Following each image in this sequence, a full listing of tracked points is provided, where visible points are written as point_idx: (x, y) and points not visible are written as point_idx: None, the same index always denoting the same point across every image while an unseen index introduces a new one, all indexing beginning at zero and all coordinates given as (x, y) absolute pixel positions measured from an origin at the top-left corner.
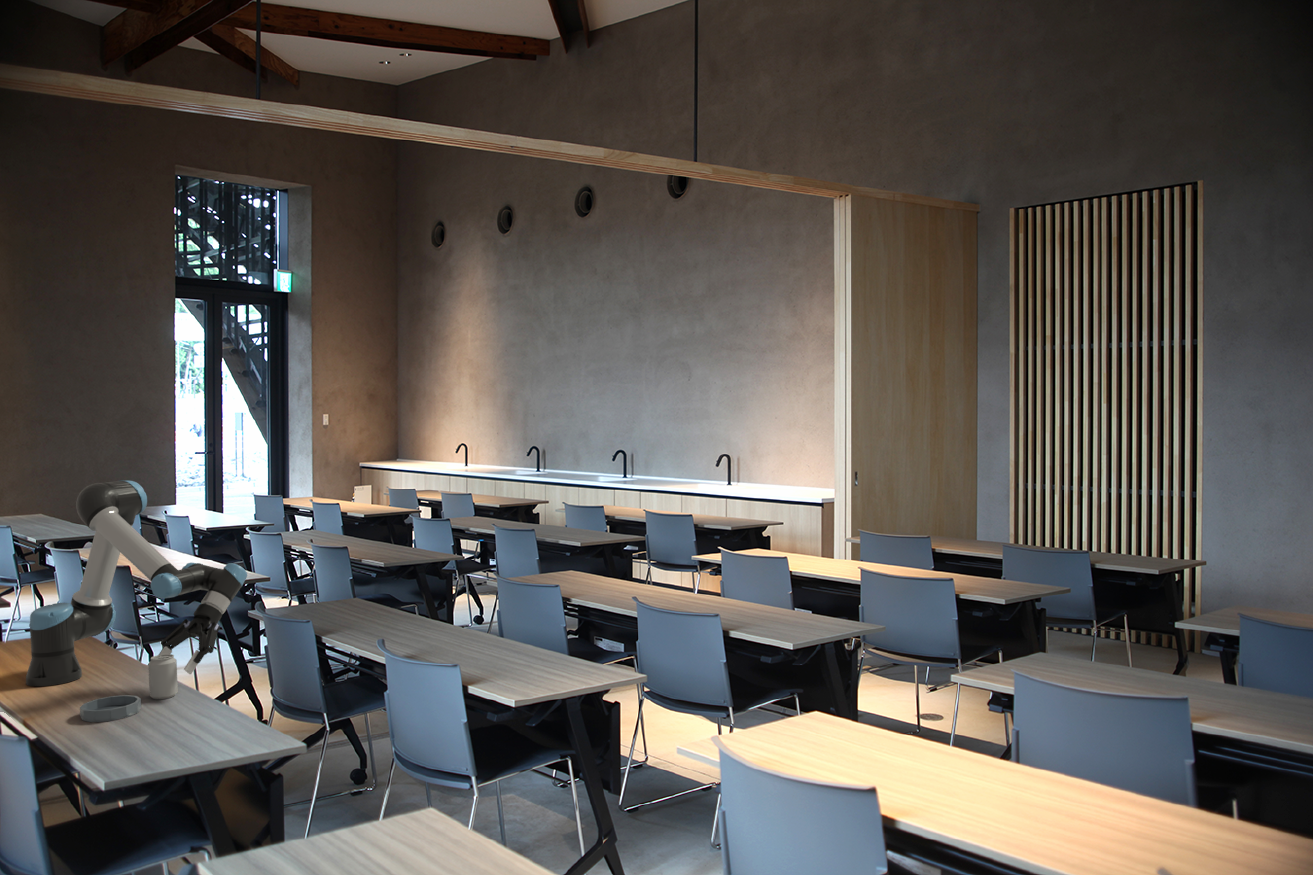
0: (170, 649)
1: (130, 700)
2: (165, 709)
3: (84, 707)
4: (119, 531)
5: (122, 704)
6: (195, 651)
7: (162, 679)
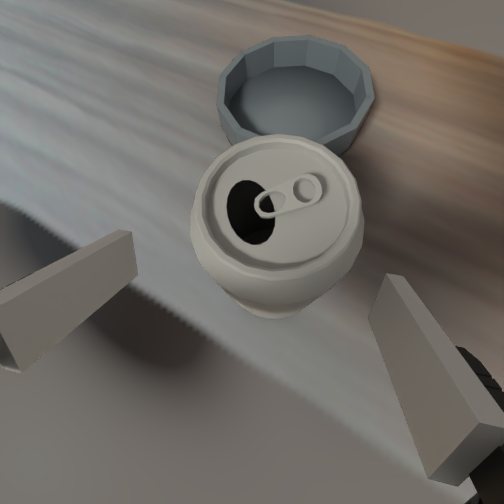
0: (474, 499)
1: None
2: (170, 170)
3: (346, 62)
4: None
5: None
6: (4, 299)
7: (235, 208)
